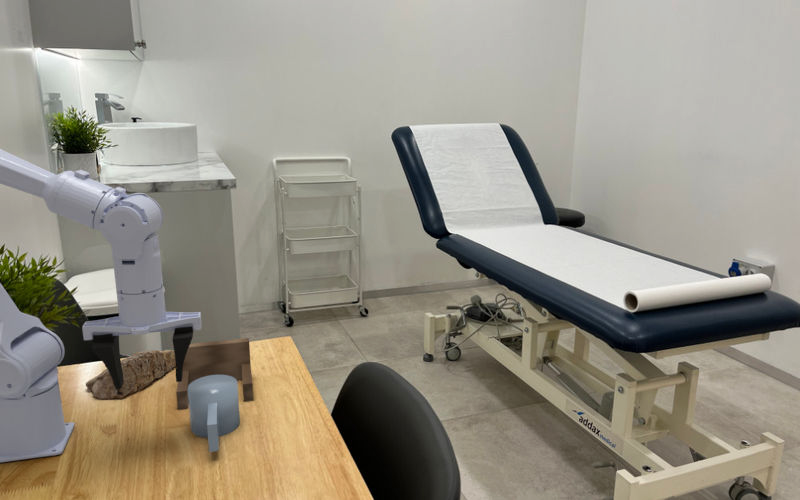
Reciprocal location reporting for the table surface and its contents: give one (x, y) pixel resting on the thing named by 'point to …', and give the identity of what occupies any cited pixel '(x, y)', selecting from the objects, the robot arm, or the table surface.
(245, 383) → the caddy
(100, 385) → the rock
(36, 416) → the robot arm
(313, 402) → the table surface
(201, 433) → the finned dome knob
